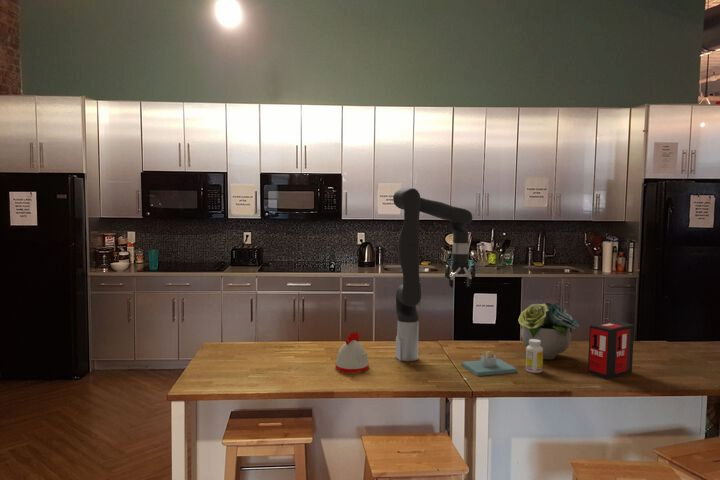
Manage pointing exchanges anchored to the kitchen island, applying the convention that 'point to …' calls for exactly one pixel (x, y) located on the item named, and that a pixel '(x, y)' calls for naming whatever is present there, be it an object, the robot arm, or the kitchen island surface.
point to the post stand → (480, 370)
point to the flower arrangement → (547, 328)
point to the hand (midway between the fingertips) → (459, 287)
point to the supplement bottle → (534, 356)
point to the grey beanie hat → (352, 355)
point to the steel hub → (488, 361)
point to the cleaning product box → (610, 349)
